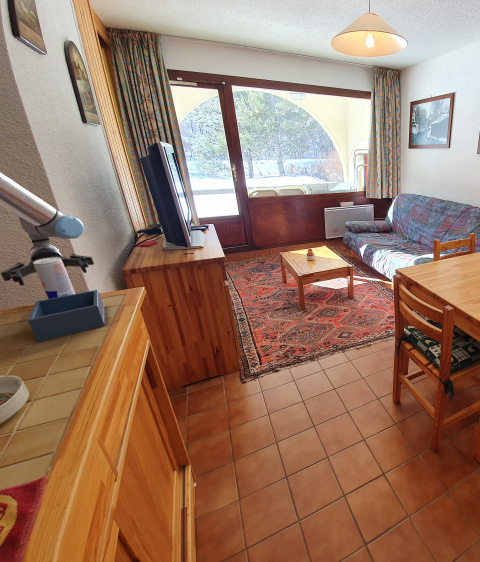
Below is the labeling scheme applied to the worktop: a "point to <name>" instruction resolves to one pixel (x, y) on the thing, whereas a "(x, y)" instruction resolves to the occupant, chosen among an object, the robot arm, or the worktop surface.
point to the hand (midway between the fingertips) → (53, 274)
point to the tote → (67, 315)
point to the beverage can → (53, 277)
